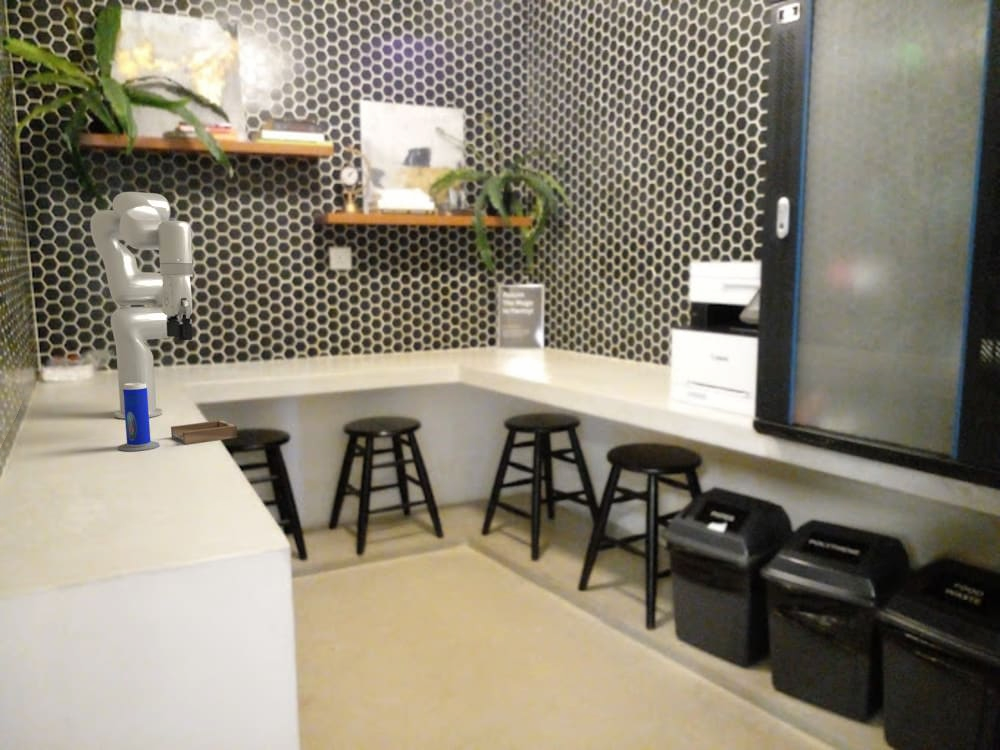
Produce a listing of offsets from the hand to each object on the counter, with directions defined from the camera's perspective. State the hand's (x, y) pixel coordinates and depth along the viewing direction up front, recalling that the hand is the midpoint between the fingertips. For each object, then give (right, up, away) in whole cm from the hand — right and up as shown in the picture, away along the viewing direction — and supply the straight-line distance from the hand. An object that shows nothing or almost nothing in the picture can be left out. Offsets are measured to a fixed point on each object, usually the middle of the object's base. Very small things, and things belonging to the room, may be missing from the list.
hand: (179, 338), depth 192 cm
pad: (-5, -27, -10) cm, 29 cm away
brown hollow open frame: (+6, -25, 0) cm, 26 cm away
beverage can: (-5, -27, -10) cm, 29 cm away
